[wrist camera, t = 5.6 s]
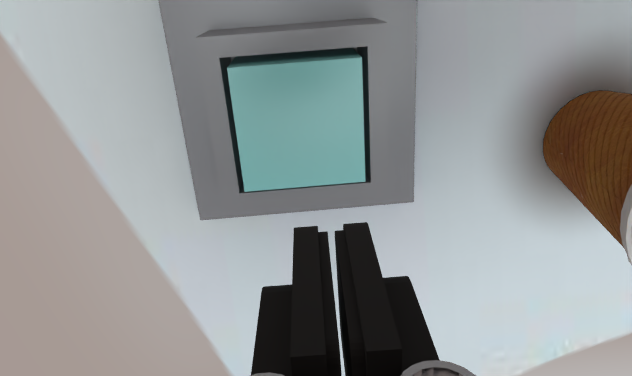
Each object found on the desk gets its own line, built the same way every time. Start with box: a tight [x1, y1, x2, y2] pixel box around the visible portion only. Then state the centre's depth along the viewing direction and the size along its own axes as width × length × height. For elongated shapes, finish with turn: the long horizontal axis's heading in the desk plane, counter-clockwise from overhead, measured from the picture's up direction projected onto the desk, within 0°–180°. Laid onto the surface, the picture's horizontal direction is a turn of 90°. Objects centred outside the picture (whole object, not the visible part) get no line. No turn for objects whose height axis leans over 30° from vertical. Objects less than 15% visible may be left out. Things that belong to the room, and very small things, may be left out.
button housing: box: [158, 0, 417, 220], centre depth 26 cm, size 14×14×5 cm
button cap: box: [227, 48, 365, 192], centre depth 25 cm, size 6×6×4 cm
